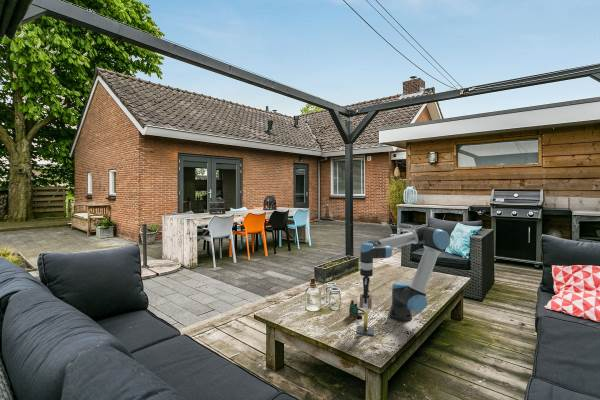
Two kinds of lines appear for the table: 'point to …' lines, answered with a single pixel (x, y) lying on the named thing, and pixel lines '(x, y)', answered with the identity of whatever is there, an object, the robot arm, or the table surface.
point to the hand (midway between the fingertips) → (365, 305)
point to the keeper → (365, 327)
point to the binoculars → (355, 311)
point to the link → (368, 301)
